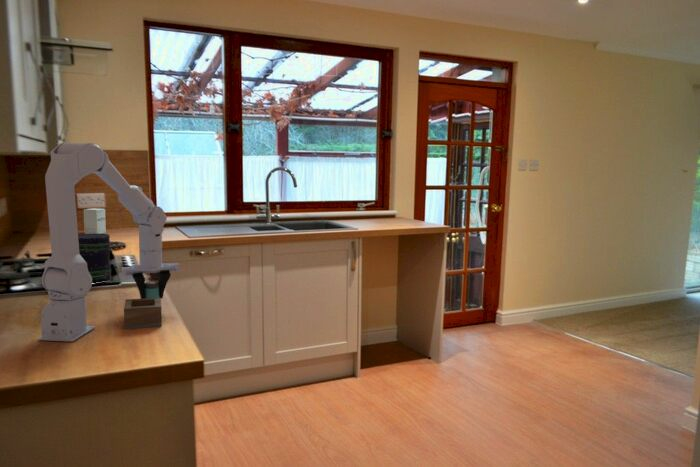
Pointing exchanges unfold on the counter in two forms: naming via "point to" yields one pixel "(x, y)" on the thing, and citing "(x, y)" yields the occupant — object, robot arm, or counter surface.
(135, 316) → the socket
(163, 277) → the robot arm
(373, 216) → the counter surface
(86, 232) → the supplement box
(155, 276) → the dark dumbbell
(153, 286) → the peg
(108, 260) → the storage jar
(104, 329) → the counter surface
